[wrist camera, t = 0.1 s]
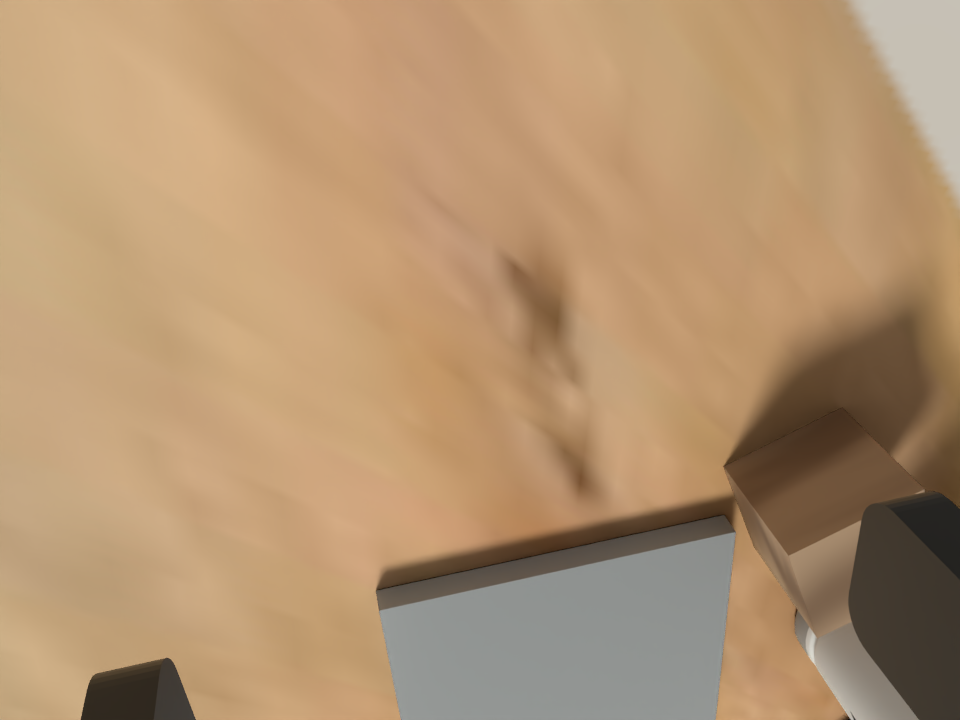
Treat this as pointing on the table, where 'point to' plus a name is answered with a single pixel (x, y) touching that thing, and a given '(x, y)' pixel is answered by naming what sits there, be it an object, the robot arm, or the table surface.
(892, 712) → the travel mug
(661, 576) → the slate board
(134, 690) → the robot arm
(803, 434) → the walnut block
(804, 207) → the table surface
